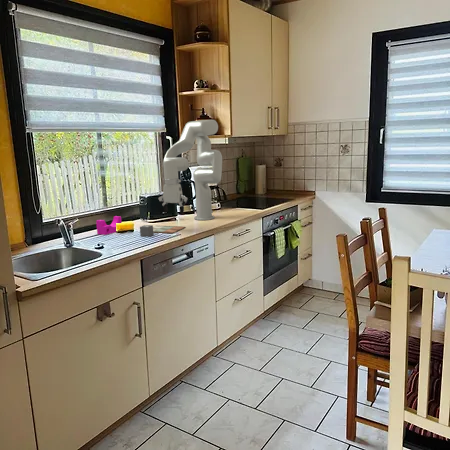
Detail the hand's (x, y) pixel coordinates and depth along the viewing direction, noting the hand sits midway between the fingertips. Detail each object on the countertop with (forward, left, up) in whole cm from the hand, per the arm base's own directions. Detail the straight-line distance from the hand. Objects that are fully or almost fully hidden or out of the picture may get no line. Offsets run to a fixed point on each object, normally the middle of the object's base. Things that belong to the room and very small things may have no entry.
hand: (173, 212), depth 232 cm
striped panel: (+1, -6, -10) cm, 12 cm away
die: (+15, -9, -10) cm, 20 cm away
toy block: (+10, -35, -10) cm, 37 cm away
